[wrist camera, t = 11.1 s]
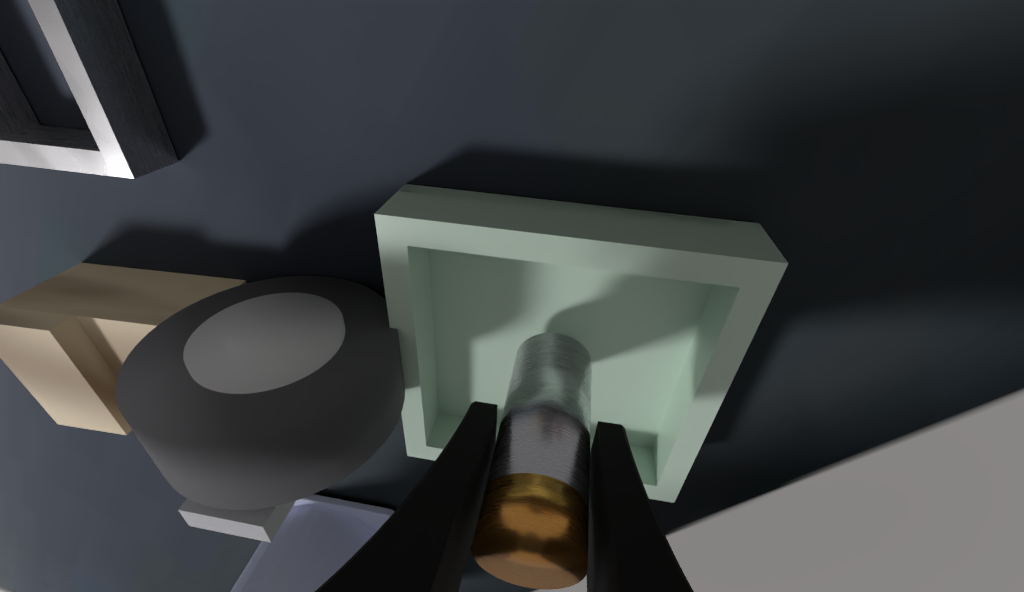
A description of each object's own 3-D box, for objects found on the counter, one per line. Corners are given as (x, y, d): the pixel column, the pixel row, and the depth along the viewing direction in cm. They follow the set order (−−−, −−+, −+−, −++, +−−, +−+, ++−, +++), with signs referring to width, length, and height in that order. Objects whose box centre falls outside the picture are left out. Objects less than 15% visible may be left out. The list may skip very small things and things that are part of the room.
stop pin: (590, 392, 14) (584, 596, 9) (517, 386, 15) (477, 579, 10) (593, 335, 13) (590, 538, 8) (514, 330, 13) (465, 520, 8)
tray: (666, 451, 18) (674, 503, 16) (425, 411, 19) (407, 455, 17) (759, 223, 12) (788, 263, 10) (405, 183, 13) (373, 213, 11)
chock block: (287, 373, 19) (223, 450, 16) (145, 355, 20) (57, 424, 17) (250, 276, 16) (164, 345, 13) (87, 259, 17) (-32, 320, 14)
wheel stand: (435, 388, 18) (357, 574, 12) (274, 362, 18) (128, 527, 13) (428, 282, 15) (321, 462, 9) (237, 257, 15) (25, 408, 10)
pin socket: (178, 161, 14) (134, 178, 12) (33, 145, 14) (-24, 160, 13) (97, -50, 11) (28, -56, 9) (-82, -60, 11) (-172, -68, 10)
